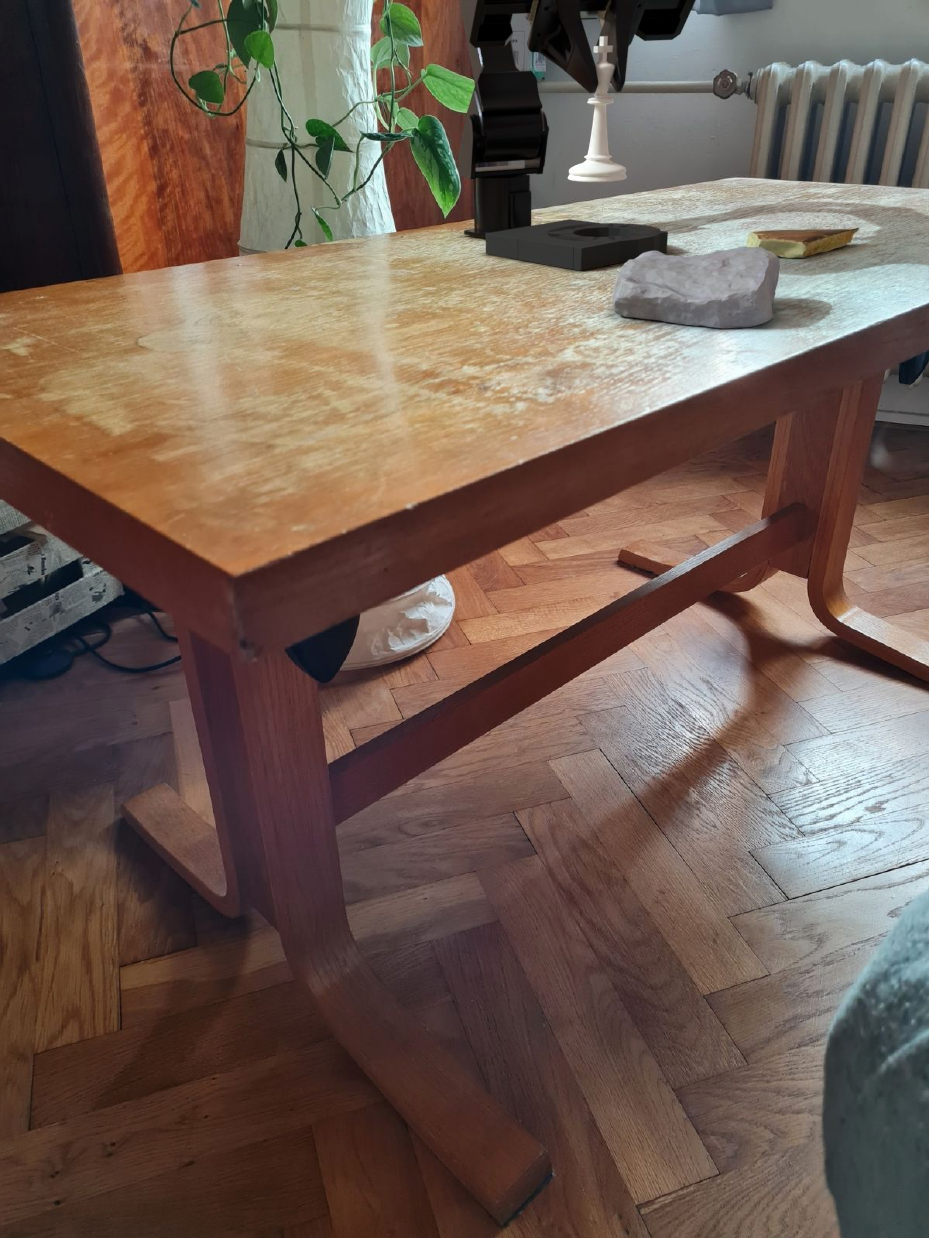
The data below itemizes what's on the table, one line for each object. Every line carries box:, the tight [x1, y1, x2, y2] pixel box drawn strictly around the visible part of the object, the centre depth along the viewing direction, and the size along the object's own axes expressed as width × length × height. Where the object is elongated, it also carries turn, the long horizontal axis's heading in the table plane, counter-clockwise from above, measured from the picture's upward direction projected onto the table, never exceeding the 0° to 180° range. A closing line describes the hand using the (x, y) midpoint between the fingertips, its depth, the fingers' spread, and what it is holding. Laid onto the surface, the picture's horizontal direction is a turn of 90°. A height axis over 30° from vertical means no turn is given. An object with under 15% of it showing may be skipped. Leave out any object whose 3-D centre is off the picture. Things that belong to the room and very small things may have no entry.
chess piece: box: [567, 35, 628, 183], centre depth 72 cm, size 5×5×10 cm
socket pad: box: [485, 218, 669, 272], centre depth 90 cm, size 15×14×2 cm
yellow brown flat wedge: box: [745, 227, 860, 259], centre depth 86 cm, size 11×8×2 cm
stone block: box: [612, 246, 781, 329], centre depth 67 cm, size 12×5×10 cm
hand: (607, 88), depth 70 cm, fingers closed on chess piece
